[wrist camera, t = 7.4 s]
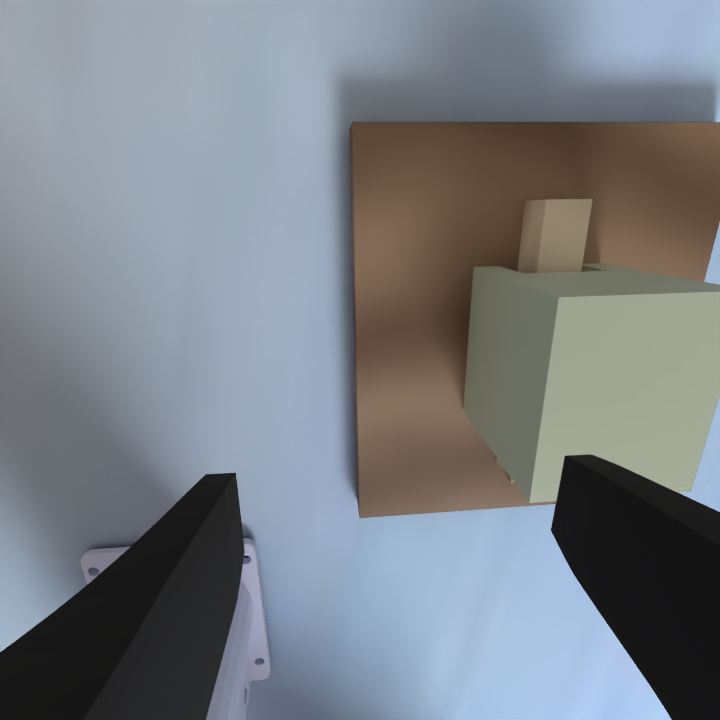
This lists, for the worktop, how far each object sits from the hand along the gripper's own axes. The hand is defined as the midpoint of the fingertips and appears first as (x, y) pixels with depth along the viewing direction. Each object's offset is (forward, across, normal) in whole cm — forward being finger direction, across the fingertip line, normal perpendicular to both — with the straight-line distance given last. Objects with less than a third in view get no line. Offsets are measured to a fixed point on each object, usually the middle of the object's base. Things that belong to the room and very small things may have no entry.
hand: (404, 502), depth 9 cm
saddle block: (+8, -7, -1) cm, 11 cm away
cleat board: (+9, -7, -1) cm, 11 cm away
